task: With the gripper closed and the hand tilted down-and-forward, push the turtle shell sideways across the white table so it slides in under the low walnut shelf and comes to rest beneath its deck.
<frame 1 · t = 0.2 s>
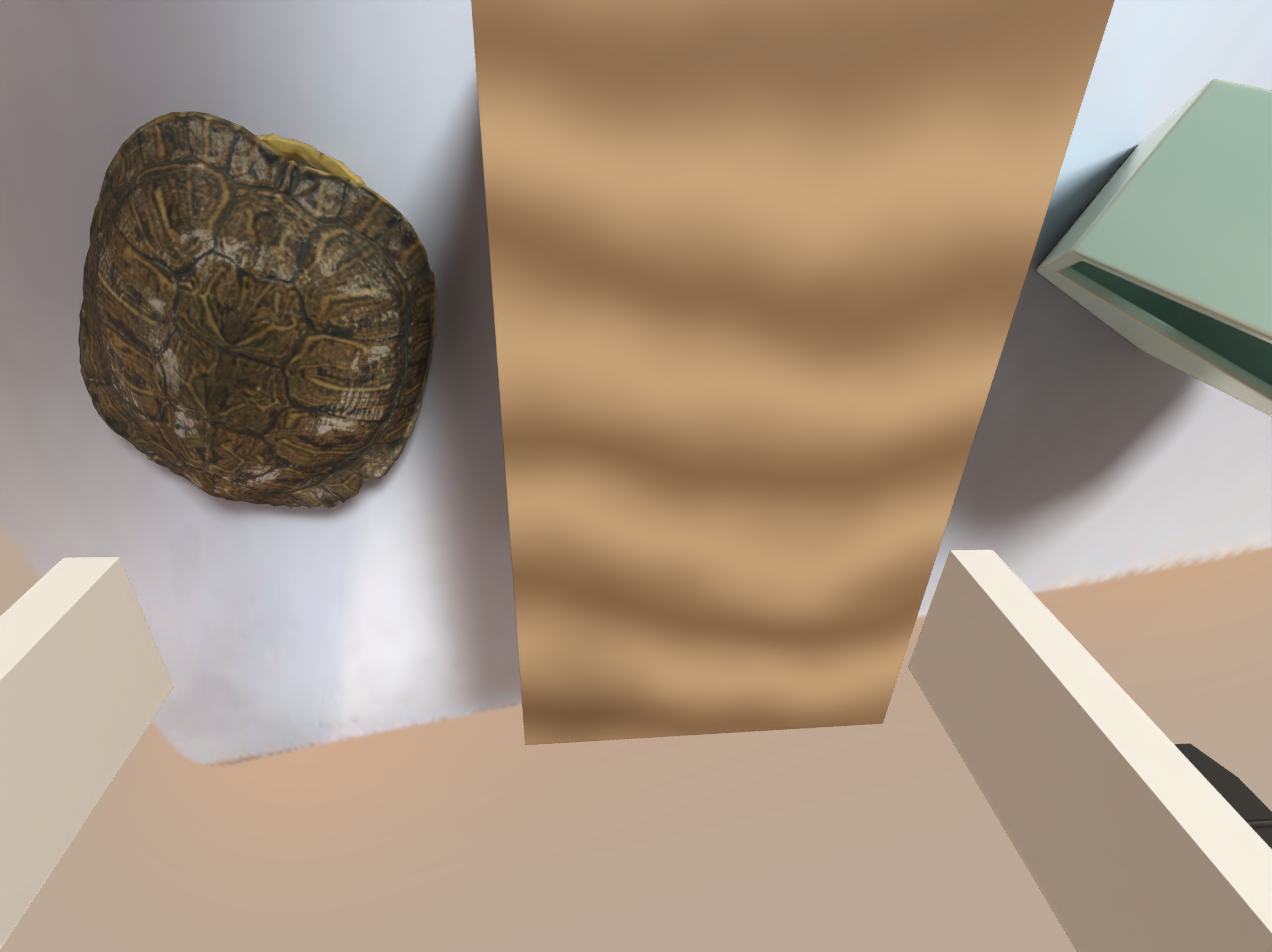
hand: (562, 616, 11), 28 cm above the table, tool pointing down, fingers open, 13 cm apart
walnut shelf: (666, 331, 38), on the table
planter: (1131, 248, 38), on the table
turtle shell: (283, 328, 36), on the table
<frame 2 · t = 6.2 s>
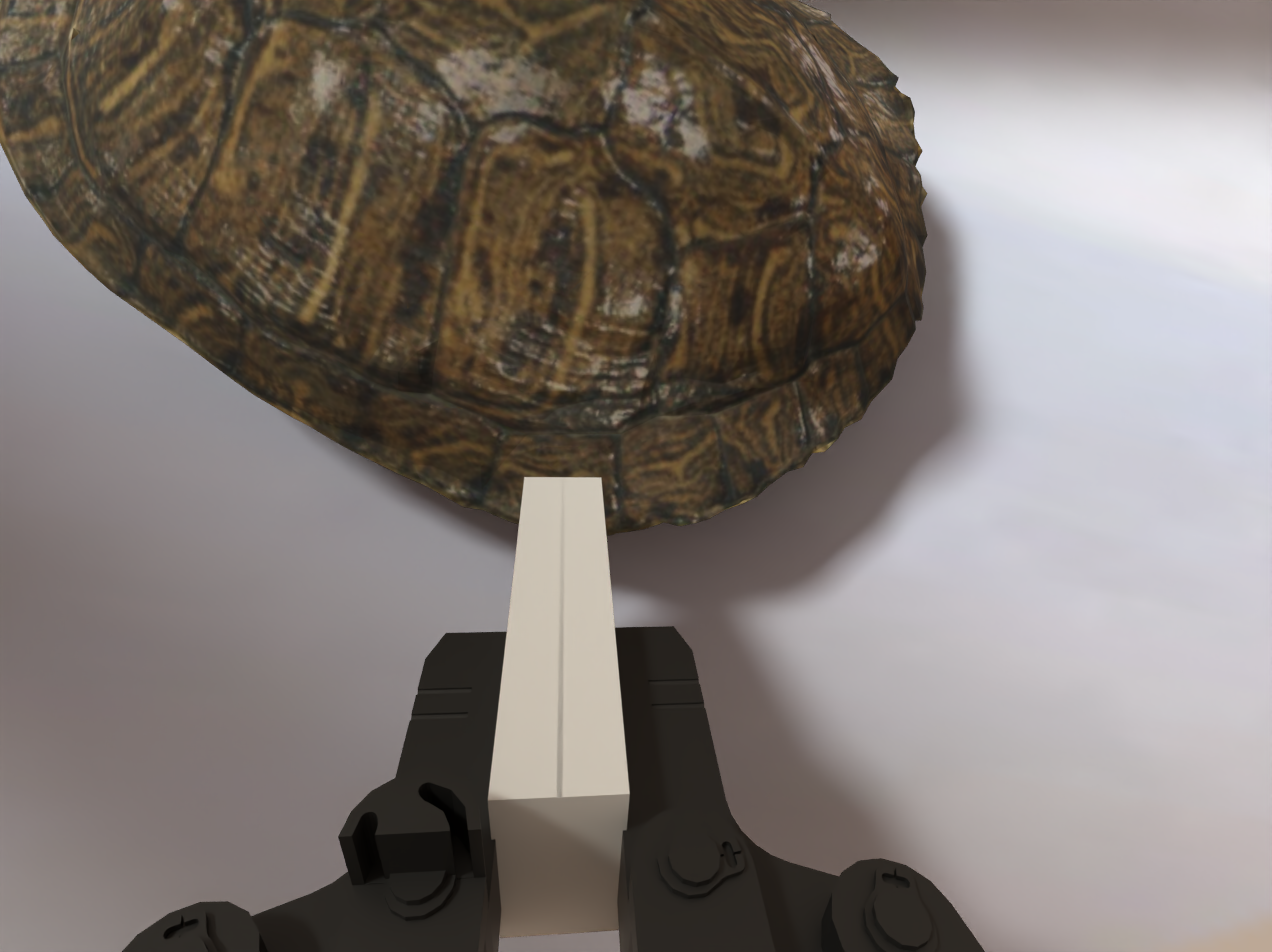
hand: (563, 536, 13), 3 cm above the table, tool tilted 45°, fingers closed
turtle shell: (536, 229, 18), on the table, touching gripper
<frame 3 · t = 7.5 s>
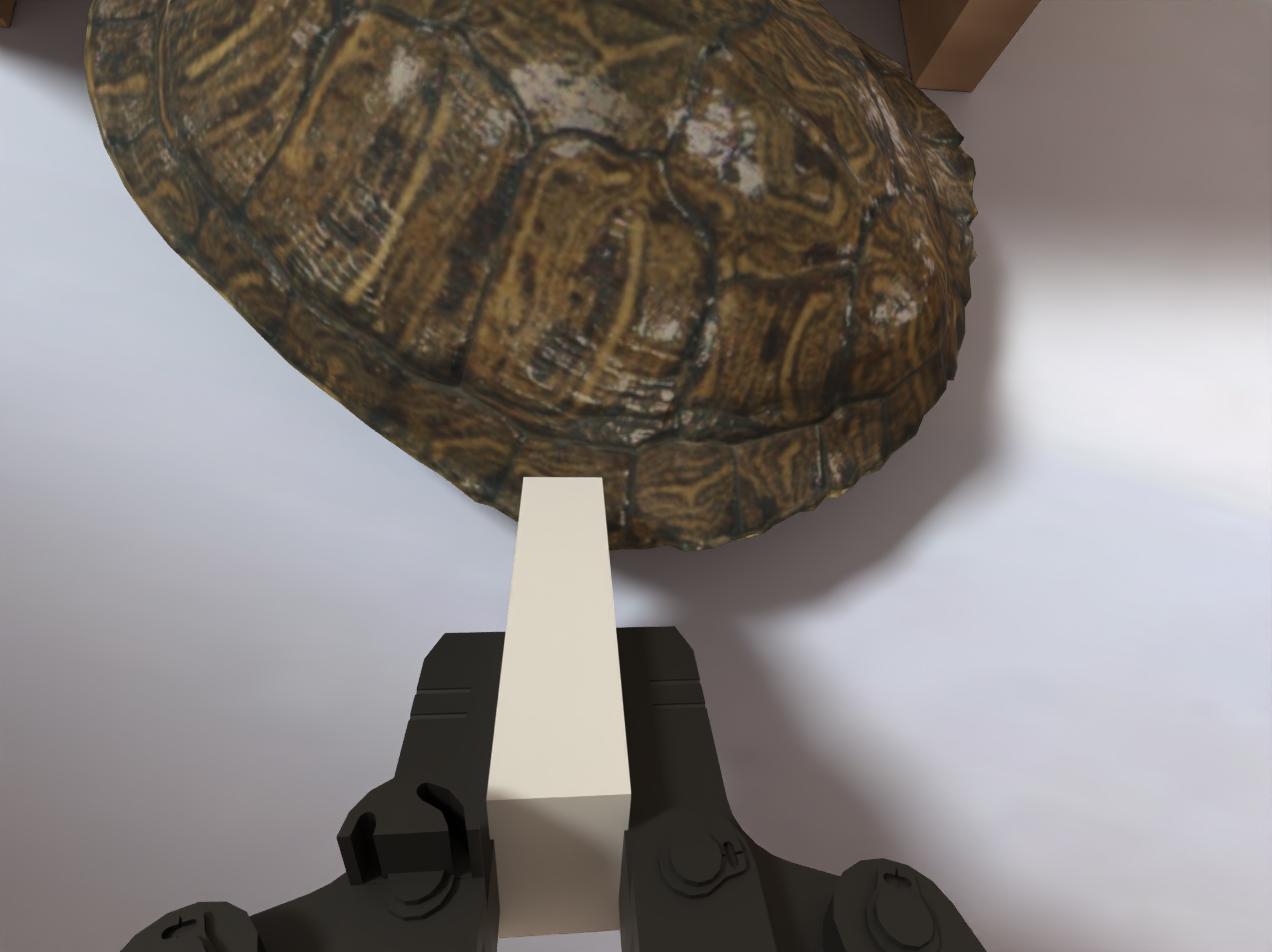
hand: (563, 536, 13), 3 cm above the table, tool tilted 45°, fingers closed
turtle shell: (586, 238, 18), on the table, touching gripper
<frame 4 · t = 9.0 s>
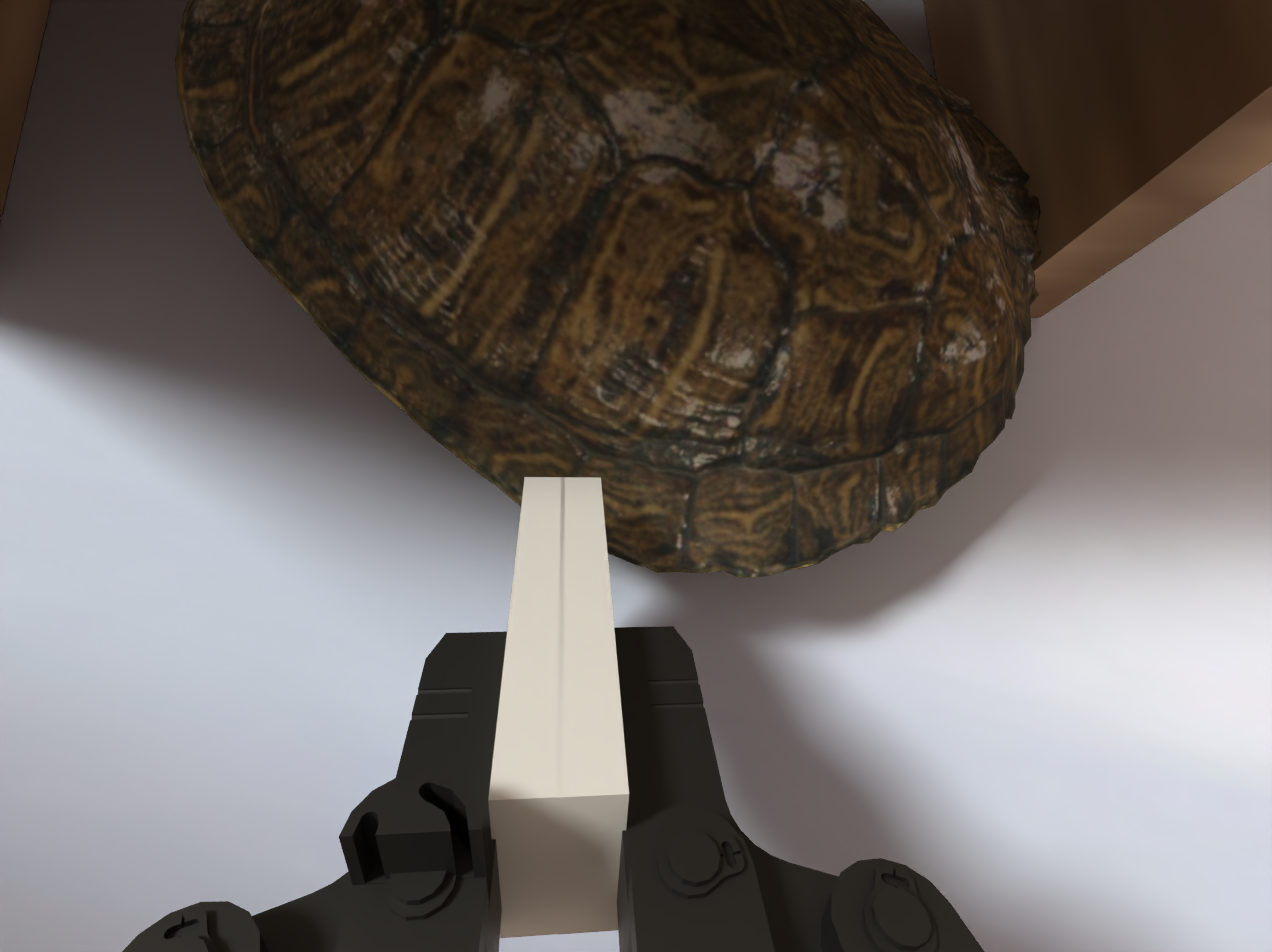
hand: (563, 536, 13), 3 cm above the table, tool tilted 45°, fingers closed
walnut shelf: (526, 58, 19), on the table
turtle shell: (644, 257, 19), on the table, touching gripper, walnut shelf
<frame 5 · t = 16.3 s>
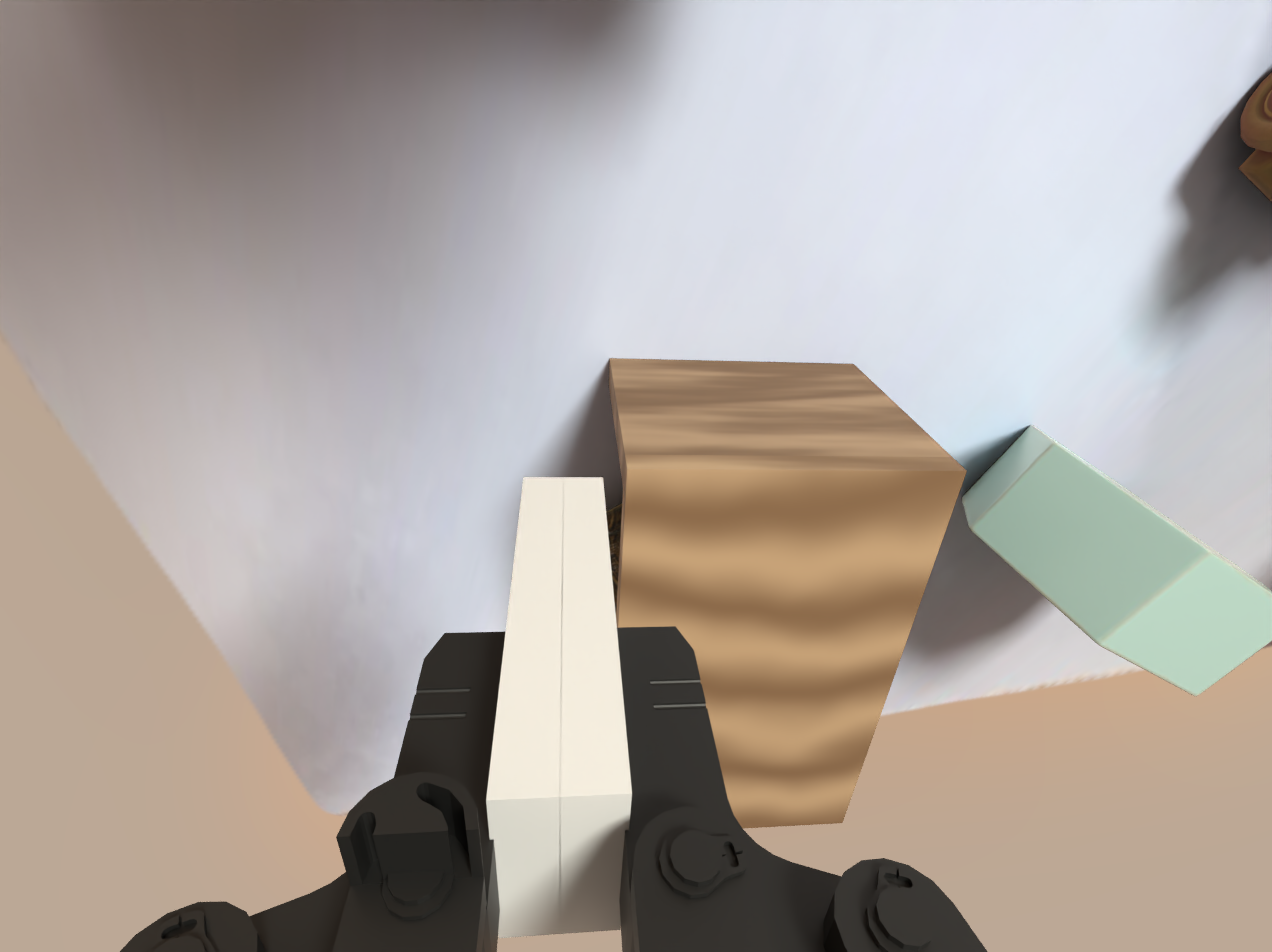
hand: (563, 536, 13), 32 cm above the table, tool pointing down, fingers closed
walnut shelf: (700, 536, 53), on the table
planter: (1029, 482, 54), on the table
turtle shell: (640, 566, 55), on the table
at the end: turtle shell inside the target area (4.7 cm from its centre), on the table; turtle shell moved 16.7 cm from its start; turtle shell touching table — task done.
